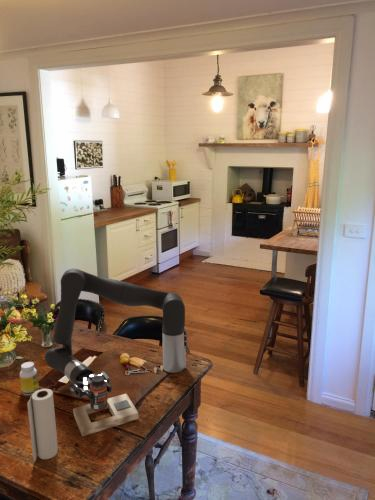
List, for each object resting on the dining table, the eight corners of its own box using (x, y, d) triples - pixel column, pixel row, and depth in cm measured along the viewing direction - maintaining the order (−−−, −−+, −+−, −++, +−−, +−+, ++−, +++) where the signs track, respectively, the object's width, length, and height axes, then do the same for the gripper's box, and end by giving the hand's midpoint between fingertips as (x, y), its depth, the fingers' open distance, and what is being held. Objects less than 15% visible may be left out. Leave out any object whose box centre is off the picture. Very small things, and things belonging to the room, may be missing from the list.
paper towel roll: (57, 444, 134) (52, 386, 128) (58, 457, 128) (52, 397, 123) (34, 449, 131) (27, 390, 126) (33, 463, 126) (27, 401, 120)
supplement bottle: (99, 414, 141) (97, 385, 138) (86, 408, 144) (85, 379, 141) (111, 405, 146) (110, 376, 143) (98, 399, 149) (97, 371, 146)
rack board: (126, 399, 157) (126, 392, 157) (138, 418, 146) (138, 411, 145) (73, 414, 148) (73, 407, 148) (82, 436, 137) (81, 429, 136)
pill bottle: (33, 397, 159) (30, 370, 156) (18, 395, 160) (15, 368, 157) (42, 387, 165) (39, 361, 162) (27, 385, 166) (24, 359, 163)
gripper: (59, 371, 148) (82, 392, 136) (95, 358, 157) (119, 376, 146) (61, 389, 150) (84, 411, 138) (96, 375, 159) (120, 394, 147)
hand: (102, 393), depth 142 cm, fingers closed on supplement bottle, 6 cm apart
